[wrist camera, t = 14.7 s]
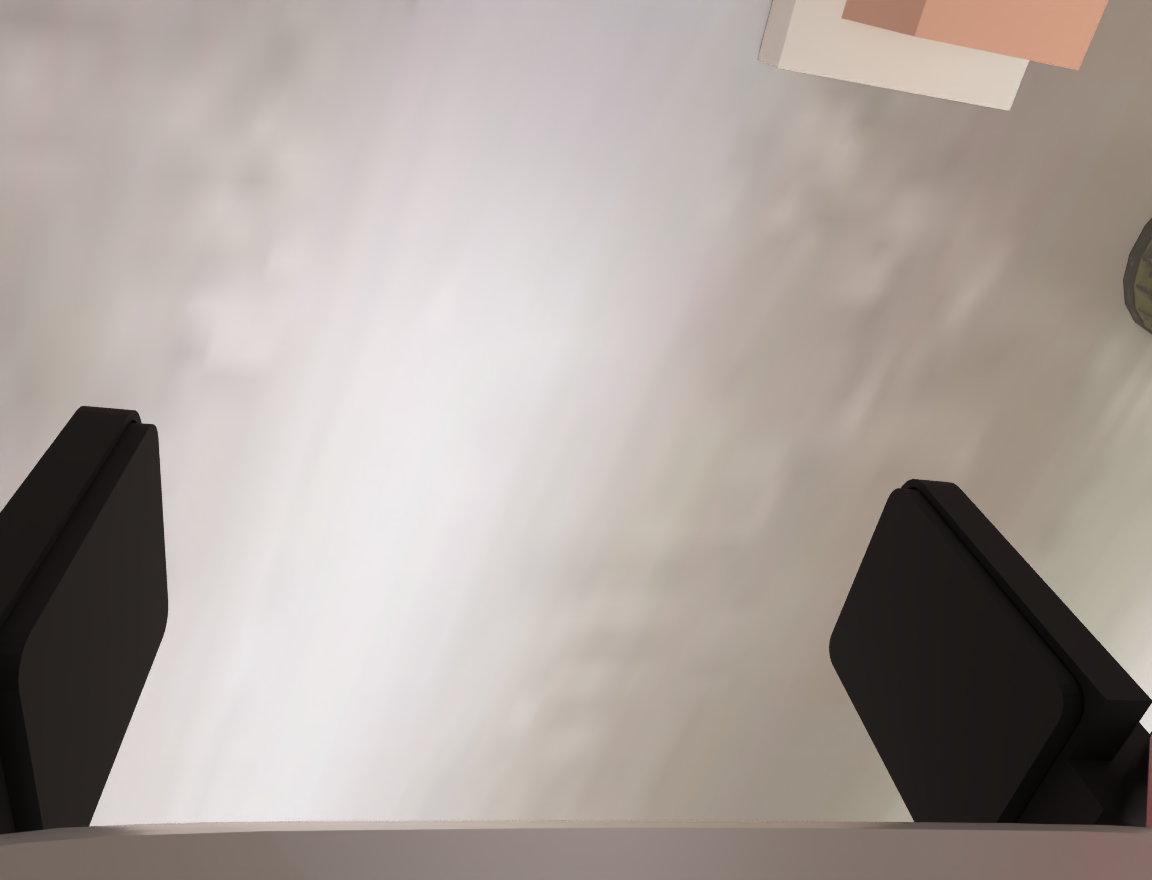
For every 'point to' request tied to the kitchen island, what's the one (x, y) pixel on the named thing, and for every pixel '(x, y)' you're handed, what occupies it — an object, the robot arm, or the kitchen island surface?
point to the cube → (992, 25)
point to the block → (884, 56)
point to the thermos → (1140, 280)
